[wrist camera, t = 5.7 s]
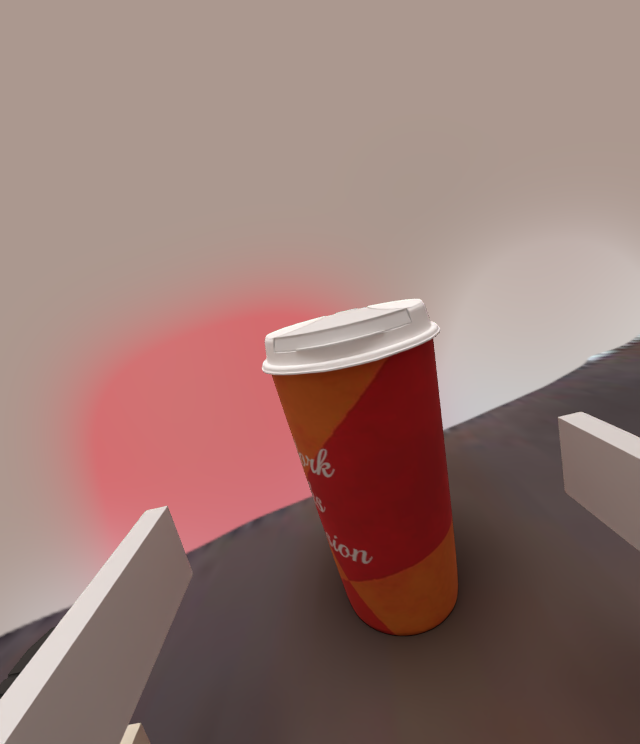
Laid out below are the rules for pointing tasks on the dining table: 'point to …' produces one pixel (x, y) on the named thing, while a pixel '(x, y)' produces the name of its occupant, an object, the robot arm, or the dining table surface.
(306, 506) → the dining table surface
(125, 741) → the tray
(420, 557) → the paper cup
